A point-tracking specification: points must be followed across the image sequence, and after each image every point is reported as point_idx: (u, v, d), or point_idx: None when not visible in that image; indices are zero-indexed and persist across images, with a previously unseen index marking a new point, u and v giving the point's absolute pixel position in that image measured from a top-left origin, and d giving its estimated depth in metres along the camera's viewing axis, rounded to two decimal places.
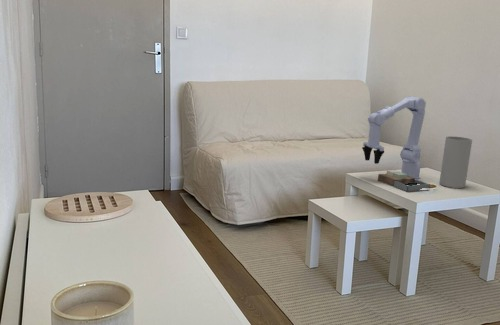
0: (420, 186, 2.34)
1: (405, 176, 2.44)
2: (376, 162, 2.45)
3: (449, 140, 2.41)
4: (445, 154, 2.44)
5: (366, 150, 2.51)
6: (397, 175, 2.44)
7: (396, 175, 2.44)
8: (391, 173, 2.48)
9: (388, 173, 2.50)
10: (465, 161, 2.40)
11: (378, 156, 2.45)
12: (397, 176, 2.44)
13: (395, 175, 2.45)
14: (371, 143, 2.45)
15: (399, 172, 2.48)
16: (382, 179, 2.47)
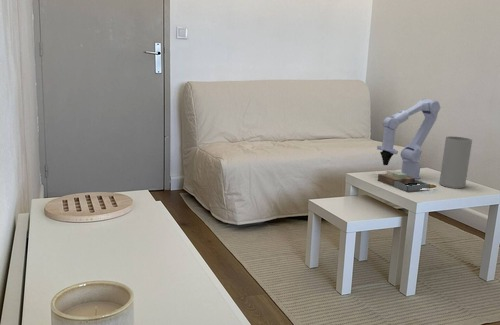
0: (420, 186, 2.34)
1: (405, 176, 2.44)
2: (385, 164, 2.54)
3: (449, 140, 2.41)
4: (445, 154, 2.44)
5: None
6: (397, 175, 2.44)
7: (396, 175, 2.44)
8: (391, 173, 2.48)
9: (388, 173, 2.50)
10: (465, 161, 2.40)
11: (387, 158, 2.54)
12: (397, 176, 2.44)
13: (395, 175, 2.45)
14: (385, 147, 2.51)
15: (399, 172, 2.48)
16: (382, 179, 2.47)
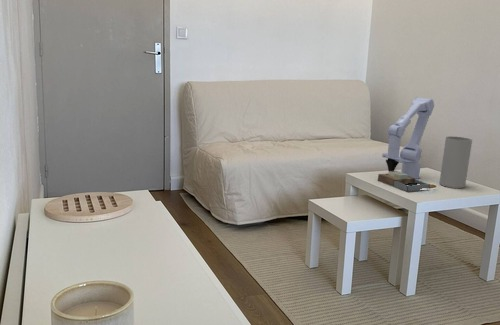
0: (420, 186, 2.34)
1: (406, 177, 2.44)
2: None
3: (449, 140, 2.41)
4: (445, 154, 2.44)
5: None
6: (398, 175, 2.43)
7: (397, 175, 2.44)
8: (393, 174, 2.46)
9: (390, 174, 2.48)
10: (465, 161, 2.40)
11: (393, 166, 2.50)
12: (398, 176, 2.43)
13: (396, 175, 2.44)
14: (391, 155, 2.47)
15: None
16: (382, 179, 2.47)
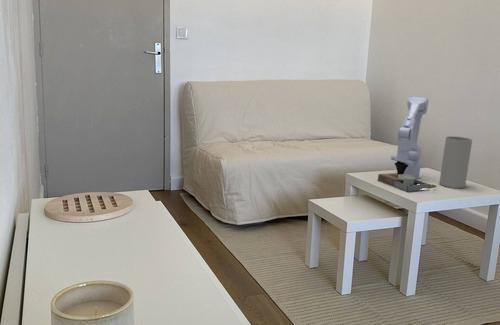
0: (420, 186, 2.34)
1: None
2: None
3: (449, 140, 2.41)
4: (445, 154, 2.44)
5: None
6: (404, 183, 2.39)
7: (405, 182, 2.39)
8: (403, 177, 2.40)
9: (399, 177, 2.42)
10: (465, 161, 2.40)
11: (402, 169, 2.44)
12: (404, 183, 2.39)
13: (405, 181, 2.39)
14: (400, 157, 2.41)
15: (413, 178, 2.39)
16: (382, 179, 2.47)
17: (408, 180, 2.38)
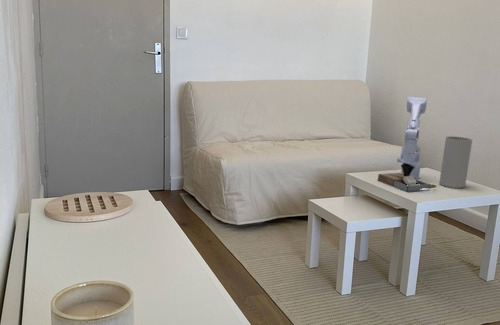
0: (420, 186, 2.34)
1: None
2: None
3: (449, 140, 2.41)
4: (445, 154, 2.44)
5: None
6: None
7: None
8: (407, 182, 2.37)
9: (404, 180, 2.39)
10: (465, 161, 2.40)
11: (408, 171, 2.40)
12: None
13: None
14: (406, 159, 2.37)
15: None
16: (382, 179, 2.47)
17: None
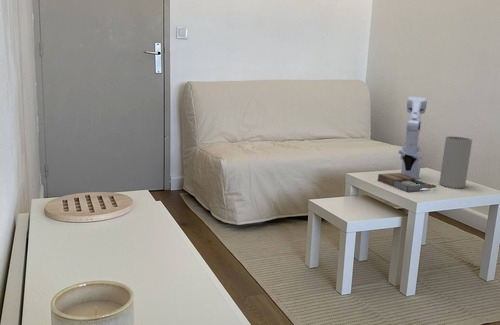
0: (420, 186, 2.34)
1: None
2: (408, 169, 2.39)
3: (449, 140, 2.41)
4: (445, 154, 2.44)
5: None
6: None
7: None
8: (406, 184, 2.38)
9: None
10: (465, 161, 2.40)
11: (410, 163, 2.39)
12: None
13: None
14: (408, 151, 2.36)
15: None
16: (382, 179, 2.47)
17: None
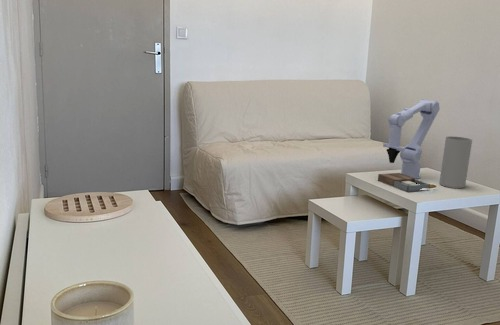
0: (420, 186, 2.34)
1: None
2: (392, 161, 2.51)
3: (449, 140, 2.41)
4: (445, 154, 2.44)
5: None
6: None
7: None
8: (406, 184, 2.38)
9: None
10: (465, 161, 2.40)
11: (394, 155, 2.51)
12: None
13: None
14: (391, 144, 2.48)
15: None
16: (382, 179, 2.47)
17: None
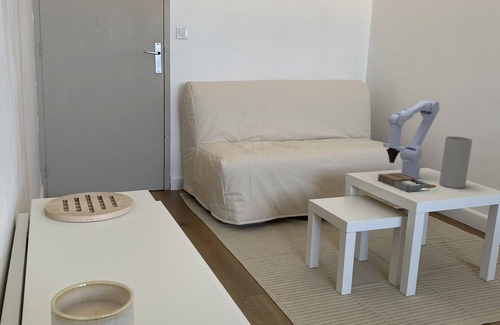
0: (420, 186, 2.34)
1: None
2: (392, 161, 2.51)
3: (449, 140, 2.41)
4: (445, 154, 2.44)
5: None
6: None
7: None
8: (406, 184, 2.38)
9: None
10: (465, 161, 2.40)
11: (394, 155, 2.51)
12: None
13: None
14: (391, 144, 2.48)
15: None
16: (382, 179, 2.47)
17: None
